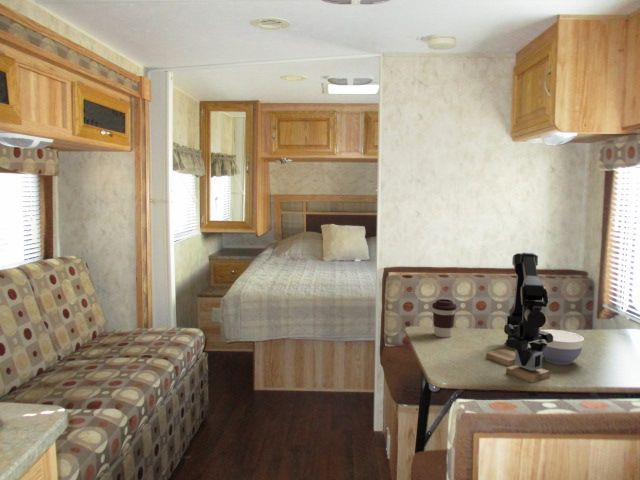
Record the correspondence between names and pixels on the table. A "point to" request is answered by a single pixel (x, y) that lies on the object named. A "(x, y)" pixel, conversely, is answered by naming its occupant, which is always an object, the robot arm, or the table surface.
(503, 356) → the stand
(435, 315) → the coffee cup
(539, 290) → the robot arm
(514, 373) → the stand
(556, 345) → the bowl
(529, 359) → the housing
